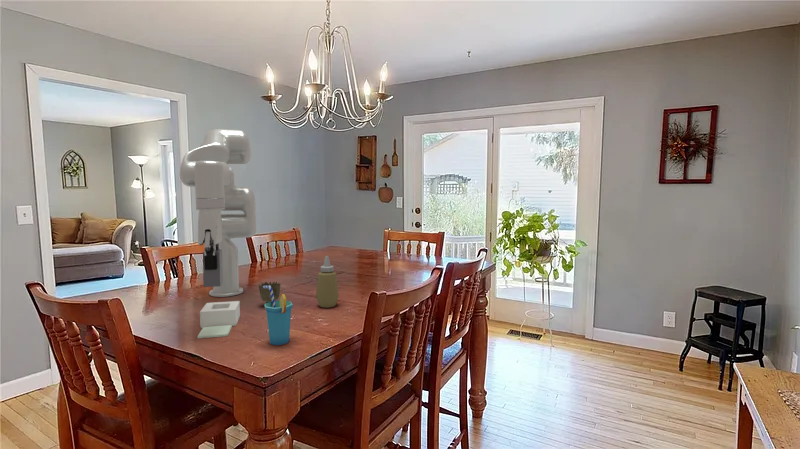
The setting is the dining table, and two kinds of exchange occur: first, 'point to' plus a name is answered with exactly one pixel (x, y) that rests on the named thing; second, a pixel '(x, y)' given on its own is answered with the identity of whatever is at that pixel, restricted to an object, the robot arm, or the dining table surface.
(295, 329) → the dining table surface
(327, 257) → the squeeze bottle
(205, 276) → the plug
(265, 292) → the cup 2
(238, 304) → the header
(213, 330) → the mat
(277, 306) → the cup
